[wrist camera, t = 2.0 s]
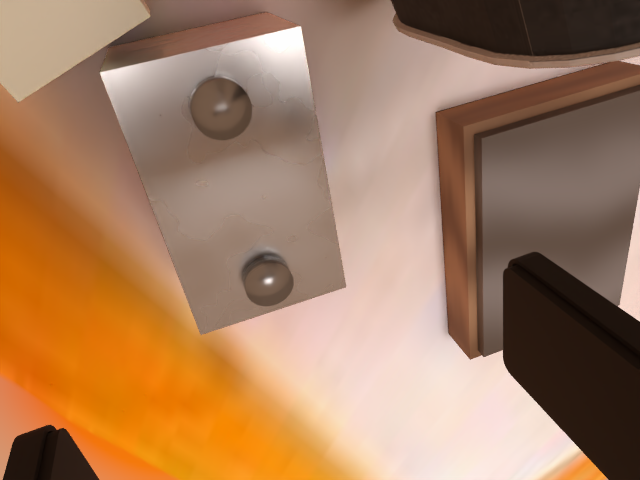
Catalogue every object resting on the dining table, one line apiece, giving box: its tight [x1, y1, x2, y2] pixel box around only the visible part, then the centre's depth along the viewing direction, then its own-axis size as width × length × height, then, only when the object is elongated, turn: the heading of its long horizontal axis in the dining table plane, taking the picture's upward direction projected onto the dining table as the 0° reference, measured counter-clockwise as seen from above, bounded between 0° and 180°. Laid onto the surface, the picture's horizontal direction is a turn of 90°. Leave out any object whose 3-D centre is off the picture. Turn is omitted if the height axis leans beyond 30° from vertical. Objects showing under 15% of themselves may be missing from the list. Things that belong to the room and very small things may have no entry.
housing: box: [100, 12, 346, 335], centre depth 19 cm, size 10×6×6 cm, turn 10°
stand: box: [436, 61, 640, 359], centre depth 27 cm, size 14×10×3 cm
